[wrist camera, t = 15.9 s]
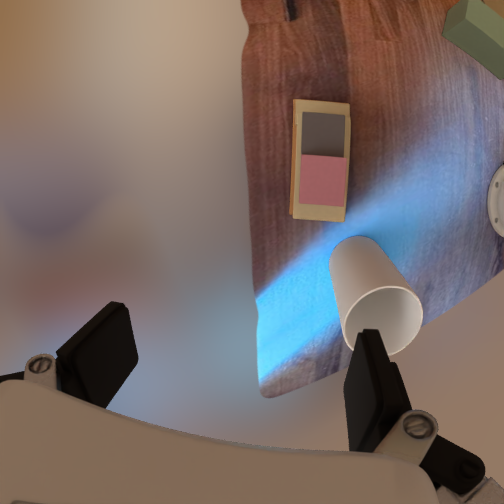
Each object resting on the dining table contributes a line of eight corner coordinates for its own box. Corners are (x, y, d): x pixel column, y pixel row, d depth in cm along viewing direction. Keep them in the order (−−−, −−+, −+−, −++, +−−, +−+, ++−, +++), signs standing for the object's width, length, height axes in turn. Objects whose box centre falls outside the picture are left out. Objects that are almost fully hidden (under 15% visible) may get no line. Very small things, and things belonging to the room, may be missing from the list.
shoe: (293, 101, 35) (292, 91, 29) (347, 105, 34) (355, 97, 28) (289, 212, 39) (288, 222, 34) (341, 216, 39) (348, 227, 33)
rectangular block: (504, 54, 24) (531, 44, 17) (499, 79, 27) (528, 72, 19) (447, 10, 25) (469, -8, 17) (441, 35, 27) (465, 18, 19)
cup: (323, 242, 40) (337, 296, 25) (380, 230, 38) (422, 276, 23) (333, 295, 42) (347, 365, 27) (386, 283, 40) (422, 347, 26)
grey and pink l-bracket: (302, 112, 30) (302, 108, 26) (343, 116, 29) (348, 112, 26) (298, 201, 33) (298, 206, 30) (338, 204, 32) (343, 209, 29)
